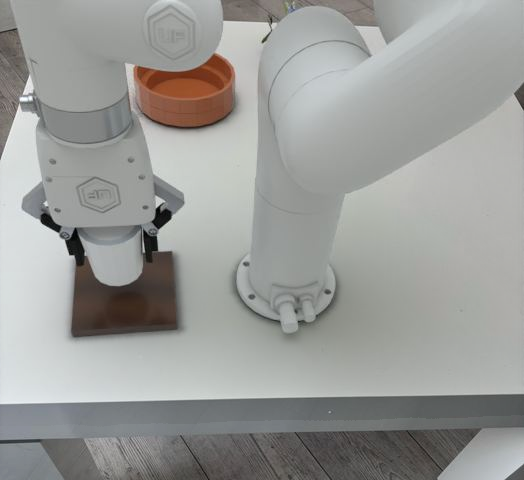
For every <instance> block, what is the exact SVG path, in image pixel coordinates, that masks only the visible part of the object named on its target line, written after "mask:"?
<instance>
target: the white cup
mask: <svg viewBox="0 0 524 480" xmlns="http://www.w3.org/2000/svg"><path fill="white" fill-rule="evenodd" d="M76 229H77V232H78V235H79V237H80V240H81V242H82V245H83V247H84V250H85V256H87V257H88V260H89V262H90V265H91V267H92V270H93V272H94V275H95V277H96V278H97V279H98V280H99V281H100V282H101V283H104V284H107V285H109V286H122V285H126V284H130V283H131V282H133V281H135V280H136V279H137V278H138V277H139V276H140V274H141V273H142V268H143V253H144V250H143V249H144V242H143V228H142V226H141V225H129V226H106V227H76Z"/></svg>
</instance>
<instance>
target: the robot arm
mask: <svg viewBox="0 0 524 480" xmlns="http://www.w3.org/2000/svg"><path fill="white" fill-rule="evenodd" d="M372 1H373V3H372V5H373V13H374V17H375V21H376V23H377V26H378V30H379V31H380V33H381V36H382V38H383V40H384V42H385V44H386V45H384V46H383V47H382V48H381V49H379V50H378V51H377V52H375V53H373V54H372V53H371V51H370V49H369V47H368V45H367V43H366V40H365V38H363V35H362V34H361V32H360V31H359V30H358V27H356V25H354V23H352V22H351V20H350V19H349V18H348V17H346V16H345V15H344V14H342V13H341V12H340V11H338V10H336V9H333V8H331V7H327V6H321V5H310V6H309V5H308V6H304V7H300V8H298V10H296V11H293V12H292V13H290V14H288V15H286V16H285V17H283V18H282V19H281V20H279V23H278V22H277V23H278V24H277V23H276V25H275V26H274V27H273V28H272V32H271V33H270V35H269V37H268V38H267V40H266V41H265V42H264V45H263V48H262V51H261V53H260V58H259V64H258V69H257V150H256V151H257V152H256V170H255V180H254V191H253V192H254V193H253V194H254V195H253V207H252V208H253V209H252V222H251V239H250V251H249V252H248V253H247V254H246V255H245V256H244V257H243V258H242V260H241V261H240V262H239V265H238V268H237V270H236V289H237V293H238V294H239V296H240V298H241V300H242V301H243V302H244V303H245V304H246V306H247V307H249V308H250V309H251V310H252V311H254V312H255V313H257V314H259V315H261V316H263V317H264V318H267V319H270V320H275V321H279V322H280V326H281V330H282V332H283V333H285V334H293V333H296V332H297V331H298V330H299V328H300V327H299V322H300V321H304V322H305V323H313V322H314V321H315V320H316V319H317V317H316V316H317V315H320V314H321V313H322V312H323V311H325V310H326V308H328V306H329V305H330V303H331V302H332V300H333V298H334V295H335V291H336V286H337V285H336V283H337V282H336V281H337V280H336V275H335V273H334V270H333V267H331V265H330V264H329V263H330V259H331V255H332V251H333V246H334V243H335V238H336V233H337V230H338V225H339V221H340V217H341V213H342V212H341V211H342V208H343V204H344V200H345V196H346V195H347V194H351V193H354V192H356V191H359V190H361V189H364V188H366V187H369V186H371V185H373V184H374V183H376V182H378V181H381V180H382V179H384V178H385V177H387V176H389V175H391V174H392V173H394V172H397V170H399V169H402V168H403V167H405V166H406V165H408V164H410V163H411V162H413V161H415V160H417V159H418V158H420V157H421V156H424V155H425V154H427V153H429V152H431V151H432V150H434V149H436V148H438V147H439V146H441V145H443V144H444V143H446V142H448V141H449V140H451V139H453V138H454V137H456V136H457V135H460V134H461V133H463V132H465V131H466V130H468V129H470V128H472V127H473V126H475V125H476V124H478V123H479V122H481V121H483V120H484V119H485V118H487V117H489V116H490V115H491V114H493V113H494V112H496V111H497V110H498V109H499V108H501V106H503V105H504V104H505V103H506V102H507V101H508V100H509V99H511V97H512V96H513V95H514V94H515V93H516V92H517V91H518V90H519V89H520V87H521V86H522V85H523V84H524V0H372ZM9 3H10V7H11V10H12V15H13V19H14V22H15V25H16V29H17V33H18V36H19V40H20V45H21V47H22V50H23V54H24V57H25V61H26V65H27V68H28V72H29V75H30V79H31V82H32V83H31V84H32V86H33V89H32V92H28V94H19V96H18V100H19V106H20V110H21V112H23V113H31V114H33V115H35V114H36V116H37V118H38V120H37V124H36V126H35V145H36V153H37V160H38V166H39V171H40V177H41V181H40V182H39V183H38V184H37V185H35V186H34V187H33V188H32V189H31V190H30V191H29V192H28V193H26V194H25V195H24V196H23V198H22V200H21V206H20V207H21V210H22V211H23V212H25V213H26V214H27V215H29V216H31V217H32V218H34V219H35V220H39V221H40V224H41V225H43V226H45V227H46V228H48V229H50V230H52V231H54V232H55V233H57V234H58V237H59V238H60V239H61V240H64V242H65V243H64V244H65V245H66V249H67V252H68V256H74V260H75V265H76V264H77V267H79V266H83V265H84V259H85V256H86V252H85V250H84V247H83V245H82V242H81V240H80V237H79V235H78V232H77V229H76V227H106V226H129V225H141V226H142V238H143V249H144V253H145V256H146V262H148V263H153V253H152V252H159V240H158V235H159V231H160V230H161V229H162V228H163V227H164V226H165V225H166V224H168V223H169V222H170V221H171V220H172V217H173V216H174V215H176V214H177V213H178V212H179V211H180V210H181V209H182V208H183V207H184V205H185V204H186V203H185V202H186V201H185V194H184V192H183V191H180V190H179V189H177V188H176V187H174V185H171V184H170V183H168V182H166V181H165V180H163V179H161V177H159V176H157V175H156V174H154V172H153V166H152V161H151V155H150V151H149V147H148V143H147V139H146V135H145V132H144V129H143V126H142V123H141V120H140V118H139V115H138V114H137V113H136V112H135V111H134V110H132V107H131V99H130V91H129V83H128V76H127V69H126V68H127V67H126V64H128V65H131V66H135V65H137V66H141V67H146V68H151V69H156V70H161V71H171V72H179V71H187V70H191V69H194V68H197V67H199V66H201V65H202V64H204V63H205V62H206V61H208V60H209V59H210V58H211V57H212V55H213V54H214V53H216V51H217V49H218V47H219V46H220V43H221V41H222V36H223V33H224V11H223V5H222V0H9ZM156 197H158V198H159V199H161V200H163V201H164V202H162V203H160V204H159V205H158V206H157V205H156V203H157V201H156V199H157V198H156ZM45 203H47V205H46V204H45ZM298 321H299V322H298Z"/></svg>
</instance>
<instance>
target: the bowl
mask: <svg viewBox="0 0 524 480" xmlns="http://www.w3.org/2000/svg"><path fill="white" fill-rule="evenodd" d="M132 72H133V76H132V77H133V84H134V91H135V99H136V104H137V106H138V108H139V109H140V111H141V112H142V113H143V114H145V115H146V116H147V117H148V118H150V119H151V120H153V121H156V122H159V123H162V124H164V125H169V126H176V127H181V128H182V127H183V128H187V127H201V126H206V125H210V124H213V123H216V122H217V121H219V120H222V119H224V118H225V117H226V116H227V115H229V114H230V112H231V111H232V110H233V107H234V105H235V103H236V72H235V67H234V66H233V65H232V64H231V62H230V61H229V60H228V59H227V58H225V57H223V56H222V55H220V54H218V53H217V52H215V53H214V54H213V55H212V57H211V58H210V59H209V60H208V61H206V62H205V63H204V64H202V65H201V66H199V67H197V68H194V69H191V70H187V71H179V72H171V71H161V70H156V69H151V68H146V67H141V66H137V65H134V66H133V71H132Z"/></svg>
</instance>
